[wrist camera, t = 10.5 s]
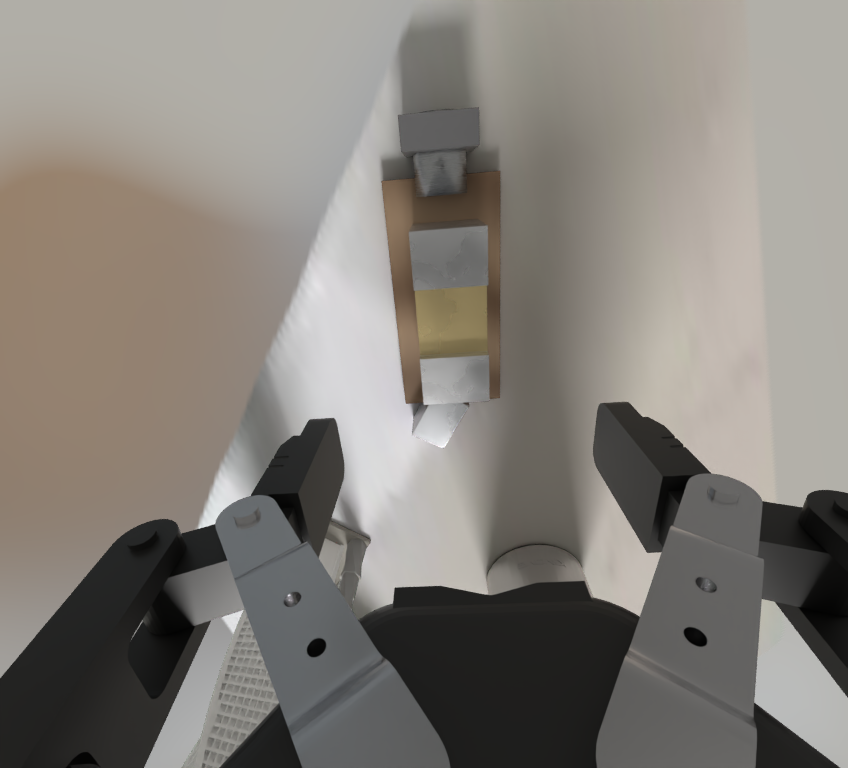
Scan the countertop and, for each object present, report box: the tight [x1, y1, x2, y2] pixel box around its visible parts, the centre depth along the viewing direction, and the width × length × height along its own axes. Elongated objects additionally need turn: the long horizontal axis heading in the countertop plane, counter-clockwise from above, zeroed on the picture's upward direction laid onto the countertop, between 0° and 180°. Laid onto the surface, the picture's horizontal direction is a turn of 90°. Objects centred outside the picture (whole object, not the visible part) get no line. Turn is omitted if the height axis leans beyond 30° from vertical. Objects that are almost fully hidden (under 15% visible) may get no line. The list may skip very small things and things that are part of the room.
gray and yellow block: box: [409, 219, 489, 405], centre depth 25 cm, size 4×10×5 cm, turn 4°
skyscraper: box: [182, 521, 371, 768], centre depth 26 cm, size 8×8×28 cm
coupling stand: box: [382, 107, 500, 449], centre depth 27 cm, size 21×7×4 cm, turn 4°
